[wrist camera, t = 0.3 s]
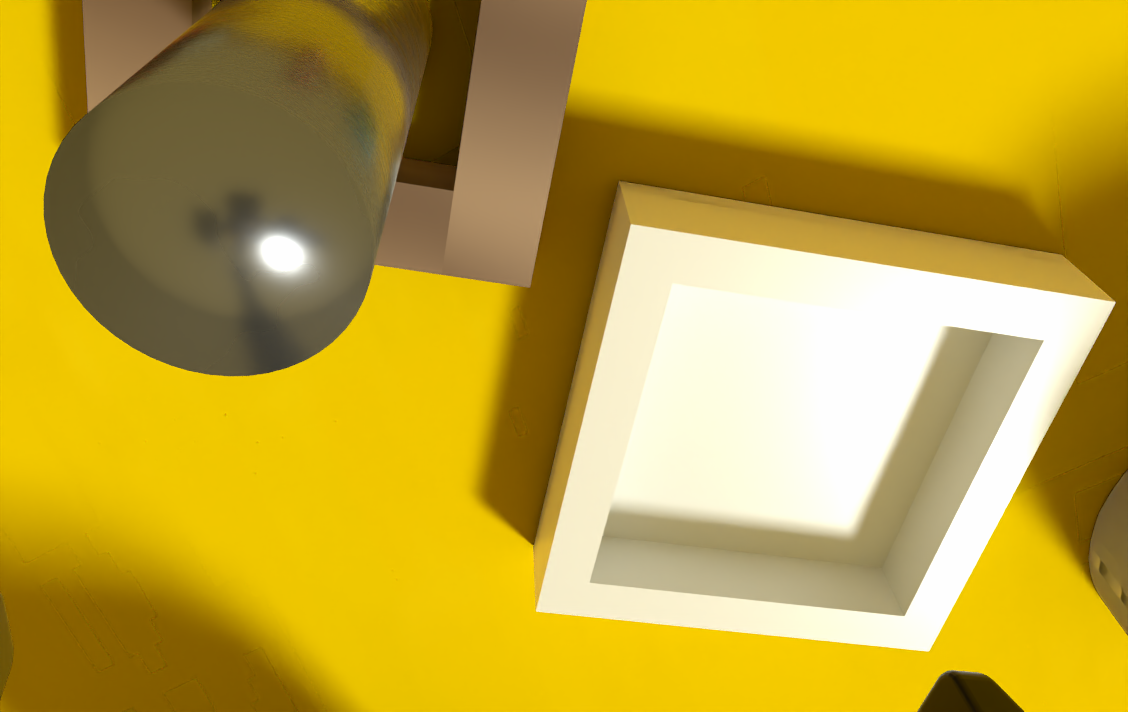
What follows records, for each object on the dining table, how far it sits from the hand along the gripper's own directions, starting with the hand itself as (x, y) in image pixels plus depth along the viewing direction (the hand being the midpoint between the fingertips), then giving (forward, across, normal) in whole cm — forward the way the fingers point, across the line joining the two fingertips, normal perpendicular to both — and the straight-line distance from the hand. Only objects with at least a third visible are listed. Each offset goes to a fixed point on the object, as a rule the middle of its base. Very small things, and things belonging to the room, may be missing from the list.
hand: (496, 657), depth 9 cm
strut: (+15, +4, -1) cm, 15 cm away
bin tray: (+14, -8, +7) cm, 18 cm away
